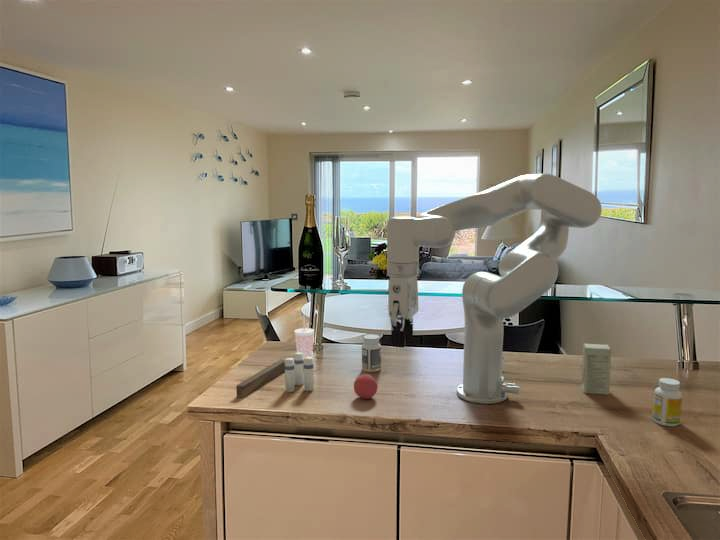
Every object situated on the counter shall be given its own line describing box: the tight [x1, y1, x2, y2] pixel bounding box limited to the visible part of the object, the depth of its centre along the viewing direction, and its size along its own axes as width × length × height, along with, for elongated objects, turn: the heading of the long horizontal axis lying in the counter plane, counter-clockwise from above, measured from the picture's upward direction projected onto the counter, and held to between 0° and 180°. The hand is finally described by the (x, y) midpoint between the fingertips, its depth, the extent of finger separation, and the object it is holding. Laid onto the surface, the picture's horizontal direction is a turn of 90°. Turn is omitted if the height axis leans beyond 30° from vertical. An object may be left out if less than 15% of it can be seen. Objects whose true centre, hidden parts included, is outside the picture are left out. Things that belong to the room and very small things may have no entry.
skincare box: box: [581, 343, 612, 395], centre depth 133 cm, size 6×4×12 cm
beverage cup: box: [293, 314, 315, 360], centre depth 161 cm, size 6×6×14 cm
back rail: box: [235, 359, 285, 398], centre depth 141 cm, size 2×22×3 cm, turn 159°
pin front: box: [303, 356, 315, 392], centre depth 136 cm, size 2×2×8 cm
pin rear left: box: [284, 357, 296, 393], centre depth 135 cm, size 2×2×8 cm
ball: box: [353, 373, 379, 400], centre depth 130 cm, size 6×6×6 cm
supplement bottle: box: [651, 377, 683, 427], centre depth 116 cm, size 5×5×10 cm
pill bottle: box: [361, 334, 382, 373], centre depth 151 cm, size 6×6×10 cm
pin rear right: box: [293, 351, 304, 387], centre depth 139 cm, size 2×2×8 cm
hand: (402, 342), depth 125 cm, fingers open, 5 cm apart
